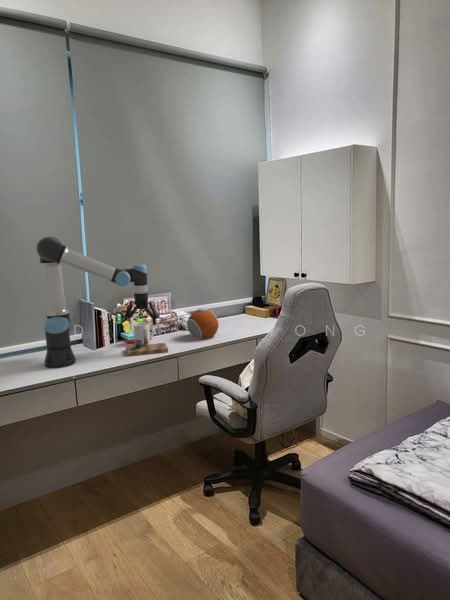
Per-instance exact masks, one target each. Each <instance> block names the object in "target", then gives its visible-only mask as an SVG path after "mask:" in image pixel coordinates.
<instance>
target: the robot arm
mask: <svg viewBox="0 0 450 600" xmlns="http://www.w3.org/2000/svg"><path fill="white" fill-rule="evenodd" d="M35 247H36V248H35V249H36V253H37V255H38V257H39V263H40V264H41V265H42V266H43V270H44V277H45V278H44V279H45V286H46V287H45V288H46V295H47V302H48V303H47V306H48V312H47V314H46V320H45V321H44V326H43V327H44V328H43V329H44V332H45V344H46V345H45V346H46V354H45V358H44V366H45V367H46V368H52V369H55V368H56V369H59V368H65V367H69V366H72V365H74V364H76V361H77V360H76V359H77V358H76V355H75V353H74V351H73V350H72V346H71V337H70V335H71V334H70V333H71V331H72V327H73V324H72V320H71V316H70V315H71V314H70V311H69V310H67V305H66V297H65V289H64V288H65V287H64V280H63V269H62V265H63V264H64V265H67V266H69V267H72V268H75V269H77V270H79V271H82V272H85V273H88V274H90V275H93V276H96V277H97V278H101V279H103V280H107V281H109V282H111V283H113V284H117V286H120V287H126V286H128V285H129V284H130V283H133V292H134V293H133V296H134V300H130V301H129V304H128V307H127V310H126V312H125V315H124V316H125V317H126V318H128V324H129V327H130V328H129V330H134V317H133V316H134V315H135V313H136V312H137V311H138V310H145V312H146V313H147V314H148V315H149V317H150V318H151V319H150V322H151V324H150V325H151V326H150V328H151V332H153V331H154V332H155V331H156V325H157V319H158V318H160V316H159V313H158V311H157V309H156V306H155V305H154V301H153V300H151V301H149V293H148V291H149V290H148V288H149V287H148V268H147V265H146V264H144V263H143V264H134V265H132V268H117V267H114V266H112V265H109V264H107V263H104V262H101V261H100V260H96V259H94V258H92V257H88V256H86V255H84V254H83V253H82V254H81V253H79V252H77V251H74V250H71V249H69V247H68V246H67V245H64V244H63V243H62V242H61V240H60V239H59V238H57V237H56V236H46V237H42V238H41V239H39V241H38V242H37V243H36V246H35ZM134 305H135V306H134Z"/></svg>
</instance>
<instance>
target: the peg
mask: <svg viewBox="0 0 450 600" xmlns="http://www.w3.org/2000/svg"><path fill="white" fill-rule="evenodd" d="M143 335H144V344H142V340H136V343H135V346H136V347H135V348H132V349H131V350H133V349H136V348H142V347H143V346H145V345H148V344H149V343H148V336H147V329H143Z"/></svg>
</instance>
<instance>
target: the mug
mask: <svg viewBox="0 0 450 600" xmlns="http://www.w3.org/2000/svg"><path fill="white" fill-rule="evenodd" d="M150 328H151V324H150V323H148V322H138V323H135V324H134V329H133V333H134V334H133V335H134V344H136V340H142V344H144V335H143V329H147V336H148V344H150V341H151V339H152V337H153V336H155V330H154V331H152V333H151V334H150Z"/></svg>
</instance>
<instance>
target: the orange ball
mask: <svg viewBox="0 0 450 600" xmlns="http://www.w3.org/2000/svg"><path fill="white" fill-rule="evenodd" d="M219 326H220V325H219V320H218V318H217V316H216V314H215V313H214V312H213V311H212V310H209V309H207V308H205V307H203V308H202V307H200V308H197V310H195V311H193V312H192V313H191V314H190V315H189V317H188V319H187V321H186V327H187V329H188V333H190V335H191V336H192V337H193V338H195V339H199V340H208V339H211V338H213V337H214V336H215V335H216V334H217V332H218V329H219Z"/></svg>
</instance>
